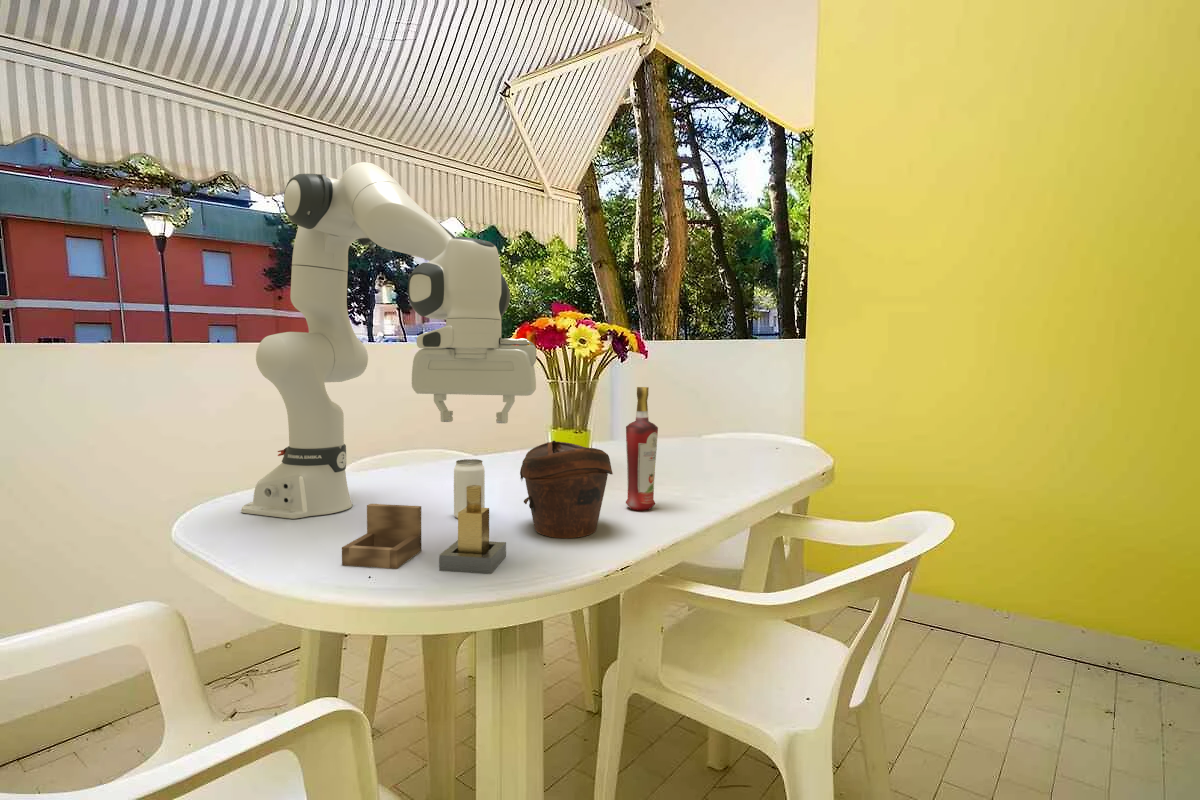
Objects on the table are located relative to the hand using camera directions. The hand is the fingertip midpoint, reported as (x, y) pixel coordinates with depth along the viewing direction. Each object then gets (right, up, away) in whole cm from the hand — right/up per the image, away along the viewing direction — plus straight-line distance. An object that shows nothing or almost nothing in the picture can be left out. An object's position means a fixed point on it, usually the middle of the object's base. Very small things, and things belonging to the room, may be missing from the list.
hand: (474, 422), depth 102 cm
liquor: (+30, -22, +41) cm, 55 cm away
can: (-7, -22, +32) cm, 39 cm away
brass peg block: (0, -24, +2) cm, 24 cm away
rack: (-16, -23, +4) cm, 29 cm away
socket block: (0, -24, +2) cm, 24 cm away
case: (+14, -23, +23) cm, 35 cm away
